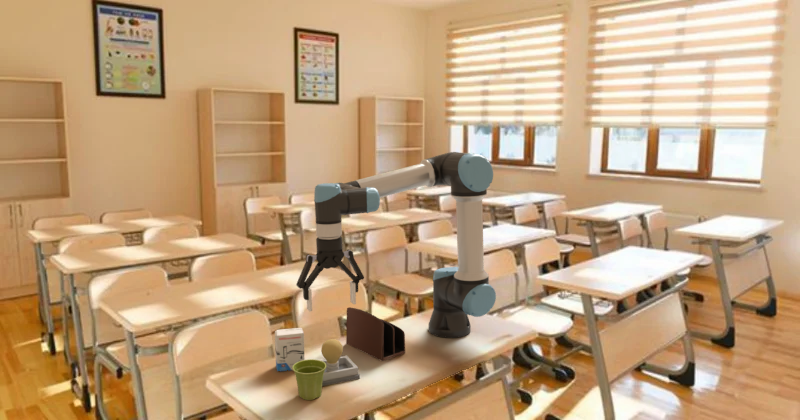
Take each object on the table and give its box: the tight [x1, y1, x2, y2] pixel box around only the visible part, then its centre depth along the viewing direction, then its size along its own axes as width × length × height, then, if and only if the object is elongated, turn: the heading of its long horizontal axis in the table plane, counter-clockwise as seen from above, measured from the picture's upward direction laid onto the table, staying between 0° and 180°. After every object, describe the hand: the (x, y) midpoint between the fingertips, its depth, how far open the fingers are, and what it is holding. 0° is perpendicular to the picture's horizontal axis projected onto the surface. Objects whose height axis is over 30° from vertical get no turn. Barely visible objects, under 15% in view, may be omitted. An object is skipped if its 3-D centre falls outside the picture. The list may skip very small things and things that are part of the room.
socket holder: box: [320, 355, 361, 387], centre depth 181 cm, size 13×12×3 cm
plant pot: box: [292, 358, 326, 401], centre depth 168 cm, size 9×9×9 cm
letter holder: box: [345, 307, 406, 362], centre depth 201 cm, size 10×20×14 cm, turn 41°
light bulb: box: [320, 338, 344, 372], centre depth 181 cm, size 6×6×10 cm
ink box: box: [274, 327, 305, 372], centre depth 187 cm, size 9×5×12 cm, turn 105°
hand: (331, 306), depth 179 cm, fingers open, 13 cm apart
